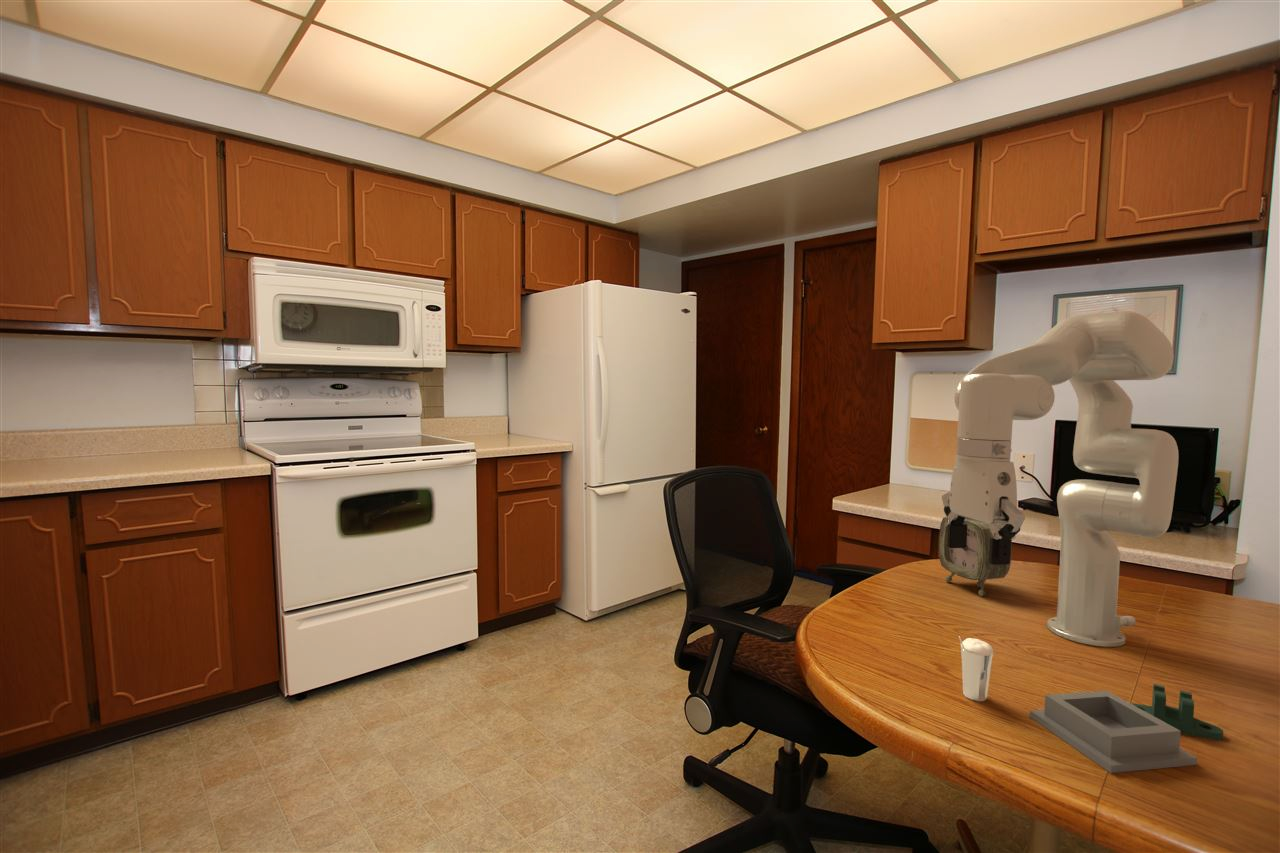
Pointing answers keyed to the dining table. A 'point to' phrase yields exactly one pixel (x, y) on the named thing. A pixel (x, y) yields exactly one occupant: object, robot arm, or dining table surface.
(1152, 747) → the socket
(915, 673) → the dining table surface
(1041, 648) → the dining table surface
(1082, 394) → the robot arm
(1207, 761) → the dining table surface
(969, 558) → the tabletop clock
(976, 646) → the milkshake
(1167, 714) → the mount
